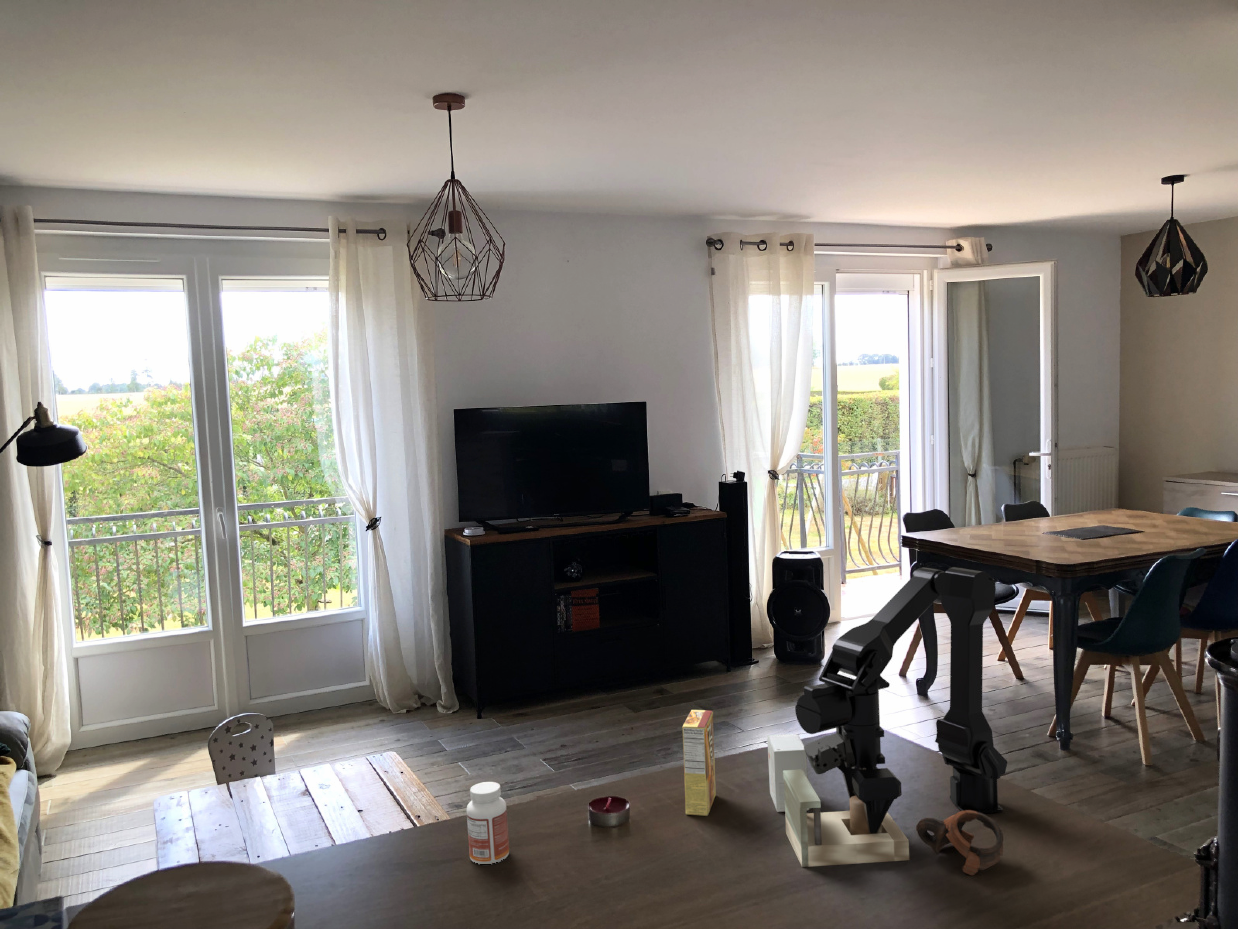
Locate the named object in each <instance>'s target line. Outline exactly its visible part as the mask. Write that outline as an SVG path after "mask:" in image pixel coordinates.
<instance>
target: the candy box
mask: <svg viewBox="0 0 1238 929" xmlns="http://www.w3.org/2000/svg"><path fill="white" fill-rule="evenodd" d="M714 737H715V735H714V711H713V710H707V709H706V710H704V709H690V712H689V713H688V715H687V717H686V719H685V721H684V722H683V725H682V745H683V746H682V747H683V748H682V749H683V771H684V772H683V774H684V776H683V777H684V778H683V779H684V804H685V805H684V808H685V815H687V816H701V817H702V816H705V817H708V816H709V813H710V811H711V809H712V807H713V803H714V801H715V797H716V773H715V772H716V770H715V769H716V768H715V739H714Z"/></svg>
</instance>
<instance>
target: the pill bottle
mask: <svg viewBox="0 0 1238 929" xmlns="http://www.w3.org/2000/svg"><path fill="white" fill-rule="evenodd" d="M469 791H470V792H469V795H470V800H471V801H469V803H468V804H467V806H466V821H467V822H466V823H467V824H466V825H467V836H468V838H467V839H468V853H469V859H470V860H471V861H472V862H473V863H474V862H475V863H474V864H476V863H478V865H480V864H491V865H493V864H492V863H495V864H497V863H496V862H498V863H500V862H502V861H504V860H505V859H507V857H508V856H509V854H510V842H509V841H510V840H509V838H510V837H509V826H508V812H507V811H508V810H507V803H506V801H505V800H504V798H502V797H501V794H502V792H501V791H502V790H501V784H500V783H498V782H495V781H483V782H478V783H476V784H474V785H472V786H471V787H470V788H469ZM503 859H504V860H503ZM501 860H502V861H501Z"/></svg>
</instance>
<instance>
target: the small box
mask: <svg viewBox="0 0 1238 929" xmlns="http://www.w3.org/2000/svg"><path fill="white" fill-rule="evenodd" d="M766 740H767V756H768V757H767V758H768V775H769V776H768V778H769V779H768V780H769V794H770V796H771V799H772V802H773V805H774V807H775V810H776V812H777V813H782V812H785V794H784V777H783V771H785V770H801V769H802V771H803V773H804V774H805V776H806V778H807V779H808V780H809V776H808V775H809V774H808V757H807V755H806V752H805V750H804V746H805V744H804V743H803V740H802V739H801V737H800V735H799V734H795V733H794V734H776V735H775V734H774V735H770V734H769V735H767V739H766ZM807 811H810V808H807Z"/></svg>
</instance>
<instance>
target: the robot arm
mask: <svg viewBox="0 0 1238 929" xmlns="http://www.w3.org/2000/svg"><path fill="white" fill-rule="evenodd" d="M996 591H997V589H996V581H995V579H994V578H992V576H991V575H990V574H989V573H988V572H986V571H980V570H974V569H969V568H968V569H967V568H963V567H955V566H952V567H949V568H948V569H947V570H945V571H944V570H941V569H937V568H930V567H920V568H917V569H915V570H914V571H913V573H912V575H911V578H910V579H909V580H908V581H907V582H906V583H905V584H904V585H903V586H902V587H901V588H900V589H899V590H898V591H897V592H896V593H895V594H894V596H892V597H891V599H890V600H889V601H888V602H887V603H886V604H885V605H884V606H883V607H882V608H881V609H880V610H879V611H878V612H877V613H876V614H875V615H874V616H873V617H872V618H871V619H870V620H869V621H867V622H865V623H863V624H860V625H858V626H855V627H852V628H850V629H849V630H848V631H847V632H845V633H844V634H842V635H841V636H839V637H838V638H837V639H836V640H835V642H834V643H833V645H832V647H831V649H832V650H831V653H830V655H829V656H828V658H827V661H826V662H825V664H824V667H823V669H822V671H821V673H820V675H819V677H818V681H819V682H821V683H820V684H816V685H813V684H811V685H806V686H804V687H803V694H802V695H800V696H799V697H798V700H797V701H796V705H795V707H794V708H795V717H796V720H797V722H798V725H799V726H800V728H801V729H802V730H803V731H804V732H806V733H807V734H809V735H815V734H819V733H823V732H825V731H829V730H833V729H835V730H836V731H835V733H832V734H829V735H825V736H823V737H821V738H818V739H815V740H813V741H811V742H809V743H807V744H804V750H805V752H806V755H807V760H808V761H809V764H810V766H811V768H812V769H813V771H814V773H815V774H816V775H823V774H825V773H827V772H829V771H831V770H833V769H836V768H837V769H838V770H839V771H840V772H841V773H842V776H843V781H844V783H845V788H846V792H847V794H848V799H850V798H851V797H853V796H857V798H858V799H859V800H861V801H862V802H863V804H864V809H865V814H866V820H867V824H868V829H869V832H870V833H871V834H874V833H877V832H878V830H879V828H880V826H881V824H882V822H883V820H884V818H885V816H886V814H887V812H888V811H889V810H890V808H891V806H892V805H893V803H894V801H895V800H897V799H898V798H899V797H901V796H902V795H903V793H902V792H903V791H902V782H901V781H900V779H899V778H898V777H897V775H895V773H894V772H892V771H891V770H890V769H889V768H888V767H884V768H883V767H882V768H881V767H880V768H878V767H877V766H878V765H885V764H886V757H885V756H884V754H883V753H882V748H881V747H882V746H881V743H882V742H881V738H885V730H884V728H882V727H881V721H880V719H881V717H880V693H879V691H880V690H883V689H887V688H890V684H891V683H889V682H888V681H887V680H886V679H885V678H883V677H882V676H881V675H882V673H883V672H884V670H885V669H886V668H887V666H888V665H889V663H890V661H892V658H893V655H894V654H893V652H894V646H895V644H896V643H897V641H899V639H900V638H901V637H903V635H904V634H905V633H906V632H907V631H908V630H909V629H910V628H911V627H912V625H914V624H915V623H916V622H917V620H918V619H919V618H920V617H921V616H922V615H923V614H924V613H925V612H926V610H928V608H930V606H931V605H933V603H934V602H936V600H937V599H938V598H939V597H940V604H941V607H942V608H943V611H944V612H945V615H946V616H947V618H948V620H949V622H950V653H949V654H950V657H949V658H950V669H949V670H950V671H949V679H950V680H949V684H950V685H949V709H948V710H947V712H946V713H945V715H944V717H943V718H938V719H937V720H936V722H935V726H936V727H935V728H936V737H935V740H934V742H935V743H937V749H938V751H939V752H940V753H941V755H942V758H943V761H944V764H945V765H947V766H951V767H952V775H951V776H950V777H949V784H950V795H949V800H950V801H951V802H952V803H953V804H954V805H955V806H956V807H957V808H958V809H959V810H960V811H965V810H972V811H976V812H980V813H983V814H988V813H1002V812H1003V807H1002V806H1001V805H1000V804H999V796H998V795H999V792H998V791H999V790H998V780H999V779H1001V776H1004V775H1005V774H1006V770H1007V767H1008V760H1007V759H1006V758H1005V757H1004V756H1003V755H1002V754H1001V753H1000V752H999V751H998V750H997V749H996V748H995V746H994V737H993V729H992V728H991V726H990V724H989V722H988V719H986V716H985V714H984V712H983V660H984V657H983V655H984V653H983V652H984V650H983V649H984V648H983V647H984V624H985V622H986V621H987V619H988V617H989V616H990V615H991V613H992V612H993V610H994V607H995V598H996ZM840 672H841V673H843V674H847V675H850V676H853V677H855V679H854V678H852V677H849V676H845V675H843V674H840Z"/></svg>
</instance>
